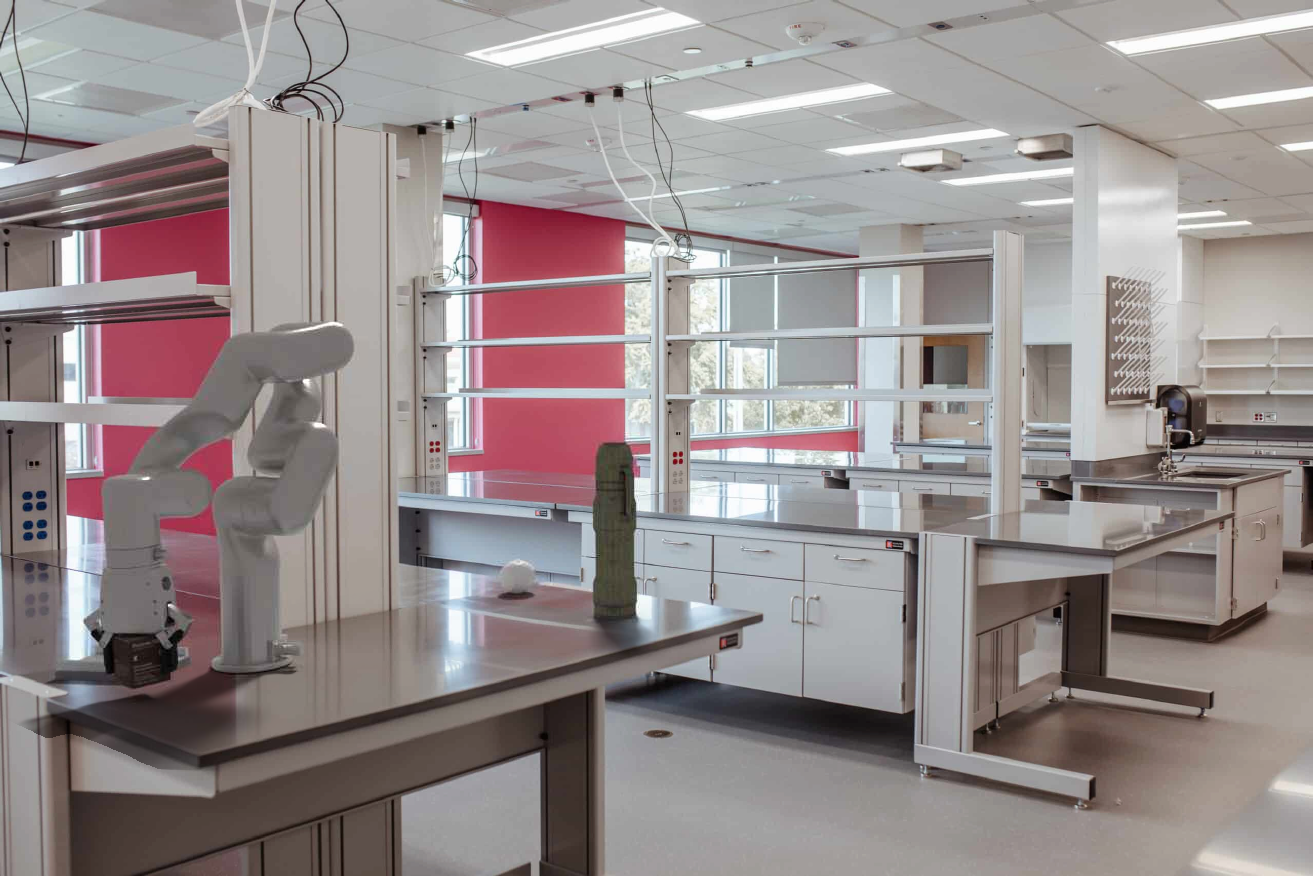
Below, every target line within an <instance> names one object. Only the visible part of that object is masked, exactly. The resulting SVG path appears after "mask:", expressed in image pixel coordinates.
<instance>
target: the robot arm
mask: <svg viewBox="0 0 1313 876" xmlns="http://www.w3.org/2000/svg"><path fill="white" fill-rule="evenodd" d="M354 351H355V342H354V338H353V335H352V334H351V332H350V331H349V329H348V328H347V327H345V326H344V325H343V324H342V323H339V322H335V321H308V322H307V321H306V322H305V321H304V322H301V321H299V322H288V323H281V324H278V325H275V326H274V327H272V328H271V329H270V330H269V331H251V332H240V333H237V334H235V335H233V336H231V337H230V338H228V339H227V340H226V341H225V343H224V345H223V346H222V347H221V349H220V351H219V353H218V354H217V355H216V358H215V359H214V361H213V363H212V364H211V367H210V369H209V370H208V372H207V373H206V375H205V377H204V379H203V381H202V382H201V384H200V386H199V388H198V390H197V391H196V393H195V395H194V396H193V399H192V400H191V401H190V402H189V403H188V405H187V406H185V407H184V408H183V409H181V410H180V411H179V412H177V413H176V414H175V415H173V417H171V418H170V419H168V421H167V422H166V423H164V424H163V425H162V426H161V427H160V428H158V429H157V430H156V431H155V432H154V433H153V434H152V435H151V436H150V437H149V438H147V440H146V442H145V443H144V444H143V445H142V447H141V448H140V450H139V452H138V453H137V455H136V456H135V459H134V460H133V462H132V464H131V466H130V467H129V469H128V471H127V473H126V474H121V475H120V474H119V475H113V476H110V477H107V478H105V479H104V480H103V482H102V484H101V487H100V488H101V504H102V517H103V531H104V534H103V535H104V545H105V562H106V567H105V568H103V569H102V572H101V573H102V574H101V579H100V581H101V582H100V590H99V608H97V609H96V610H95V611H93V612H92V613H90V614H88V616H86V617H84V619H83V621H82V622H83V624H84V625H85V627H86V628H87V630H88V631H89V632H90V635H91V637H92V638H93V639H94V641H96V642H97V643H98V645H99V647H100V648H103V656H104V666H105V669H106V674H112V673H114V661H113V647H112V637H113V636H114V635H117V634H155V635H156V636H157V638H158V639H159V641H160V642H161V643H162V645H163V646H164V648H162V649H161V650H160V657H161V672H162V674H163V675H168V674H169V673H173V672H175V671H176V670H178V669H177V665H178V650H177V647H178V645H179V644H180V643H181V641H182V640H183V639H184V637H185V636H186V635H187V634H188V631H189V630H190V628H191V626H192V625H193V623H194V617H193V616H191V615H189V613H187V612H185V611H184V610H182V609H180V607H178V601H177V597H176V596H177V595H176V589H175V584H174V581H173V576H172V573H171V570H170V569H171V568H169V564H168V563H163V562H164V560H167V559H168V558H169V557H170V551H169V550H168V549H164V548H163V544H162V540H161V539H162V537H161V536H162V535H161V523H160V521H161V520H162V519H171V518H172V519H174V518H176V519H177V518H179V519H180V518H181V519H182V518H190V517H191V518H192V517H195V516H197V515H200V514H201V513H202V512H205V510H207V508H208V507H209V506H210V505H211V513H212V517H213V518H212V519H213V523H214V527H215V531H216V536H217V543H218V551H219V585H220V587H219V590H220V591H219V592H220V594H219V595H220V630H221V631H220V635H221V637H220V638H221V654H220V655H219V654H218V656H216V657H214V658H213V659H212V661H211V668H212V669H214V670H215V671H218V672H222V673H229V674H230V673H231V674H232V673H233V674H237V673H238V674H242V673H243V674H248V673H249V674H250V673H259V672H265V671H266V672H267V671H270V670H275V669H278V668H283V667H285V666H287V665H290V663H291V662H292V661H293V658H292V657H302V656H303V655H304V653H305V646H304V643H303V642H299V641H298V642H296V641H295V642H290V641H289V639H288V638H289V636H288V633H283V629H282V627H283V626H282V583H281V579H282V577H281V576H282V575H281V573H282V572H281V569H282V566H281V564H282V563H281V556H280V554H281V553H280V551H279V547H278V544H277V542H276V539H275V537H274V536H276V537H277V536H278V537H292V536H296V535H299V534H301V533H302V532H304V531H305V530H306V529H307V528H308V527H309V526H310V524H311V523H312V521H313V520H314V517H315V516H316V514H317V512H318V509H319V507H320V505H321V503H322V501H323V499H324V496H325V494H326V492H327V489H328V487H329V486H330V482H331V481H332V479H333V476H334V474H335V471H336V469H337V466H338V462H339V455H340V446H339V442H338V441H339V440H338V439H337V436H336V434H335V432H334V430H332V429H331V428H330V427H329V426H327V425H326V424H324V423H320V422H317V421H318V419H319V416H320V414H321V411H322V407H323V404H322V403H323V401H322V394H321V391H320V389H319V386H318V384H317V383H318V382H317V380H316V377H320V376H324V375H328V374H331V373H333V372H338V371H340V370H341V369H343V368H345V367H346V366H347V365H348V364H349V362H350V361H351V360H352V357H353V355H354ZM266 384H273V390H272V396H271V397H270V400H269V403H268V406H266V409H265V411H264V413H263V415H262V418H260V421H259V423H258V425H257V427H256V429H255V432H254V433H253V435H252V437H251V440H250V442H249V444H248V447H247V454H246V458H247V463H248V464H249V466H250V468H251V469H252V470H254V471H255V472H257V473H258V474H261V475H265V476H258V475H257V476H256V475H241V476H234V477H231V478H229V479H227V480H226V481H224V482H222V483H221V484H220V485H219V486H218V487H217V488H216V490H215V492H214V487H213V484H212V482H211V480H210V479H209V478H208V477H207V476H206V475H205V474H204V473H202V472H200V471H199V470H196V469H191V468H182V467H181V466H182V465H183V464H184V463H185V462H186V461H187V459H188V458H190V457H191V456H193V455H194V454H195V453H197V452H198V451H200V450H201V449H203V448H205V447H207V446H209V445H212V444H214V443H217V442H219V441H222V440H223V439H226V438H227V437H229V436H231V435H233V434H235V433H236V432H238V431H239V430H240V429H241V427H242V426H243V425H244V423H245V421H246V419H247V417H248V415H249V414H250V412H251V410H252V408H253V406H254V404H255V403H256V401H257V398H258V396H259V395H260V394H261V392H262V389H263V387H264V386H265V385H266ZM180 467H181V468H180ZM269 476H270V477H269ZM177 624H178V625H177ZM175 626H177V629H176V630H175V629H174V628H173V627H175ZM166 633H168V635H167V634H166Z"/></svg>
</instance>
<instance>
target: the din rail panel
mask: <svg viewBox="0 0 1313 876" xmlns="http://www.w3.org/2000/svg"><path fill="white" fill-rule="evenodd" d="M177 650H178V665H177V669H176V670H179V669H181V668H183V667H185V666H187V665H189V664H191V656H190V655H189V647H188V646H177ZM94 651H95V652H94V654H93V653H92V654H90V655H88V656H85V657H83V658H80V659H60V660H57V661H56V671H55V672H54V677H55V678H54V679H55V680H61V681H64V680H66V681H96V682H97V681H103V682H107V681H108V682H115V677H114V673H112V674H106V669H105V666H104V656H103V648H100V647H99V644H98V645H95V646H94Z"/></svg>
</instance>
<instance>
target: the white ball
mask: <svg viewBox="0 0 1313 876" xmlns="http://www.w3.org/2000/svg"><path fill="white" fill-rule="evenodd" d="M535 578H536V571H535V568H534V566H533V565H532V564H531V563H530V562H527V561H524V560H521V559H514V560H513V561H510V562H507V563H506V565H504V566H503V567H502V568H501V569H500V570H499V582H500V584H501V586H502V587H503V588H504V590H506V591H508V592H509V593H510V594H511V593H512V594H516V595H517V594H522V593H523V594H524V593H525V592H527V591H529V590H530V589H531V588H532V587H533V585H534V581H535Z"/></svg>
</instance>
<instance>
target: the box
mask: <svg viewBox="0 0 1313 876" xmlns="http://www.w3.org/2000/svg"><path fill="white" fill-rule="evenodd" d="M166 634H167V635H168V633H166ZM112 647H113V661H114V677H115V681H114V683H116V684H118V685H121V686H123V687H126V688H128V689H131V690H135V689H140V688H145V687H149V686H153V685H156V684H161V683H164V682H168V681H171V679H172V675H171V673H172V672H171V673H169V674H168V675H163V674H162V672H161V657H160V650H161V649H162V648H164V646H163V645H162V643H161V642H160V641H159V639H158V638H157V636H156V635H155V634H117V635H114V636H113V637H112Z"/></svg>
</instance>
